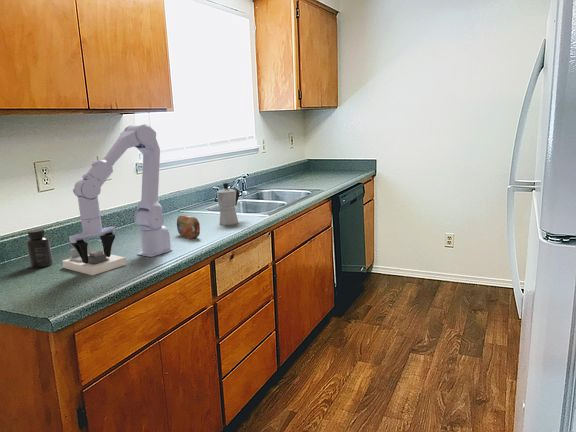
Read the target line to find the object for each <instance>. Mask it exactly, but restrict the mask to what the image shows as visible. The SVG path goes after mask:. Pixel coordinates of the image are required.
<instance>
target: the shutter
mask: <svg viewBox="0 0 576 432" xmlns="http://www.w3.org/2000/svg"><path fill="white" fill-rule="evenodd" d="M90 252H91V249H90V245H89V244H88V246H87V254H88V256H90V255H89V253H90ZM68 259H70V260H74V261H78V262H82V259H81V257H80V255H79V253H78V251H77V250H76V249H75V247H74V248H71V249H70V257H69V258H68Z"/></svg>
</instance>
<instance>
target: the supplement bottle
mask: <svg viewBox="0 0 576 432" xmlns="http://www.w3.org/2000/svg"><path fill="white" fill-rule="evenodd" d="M27 235H28V238H29V239H27V241H26V243H25V244H26V250H27V256H28V260H29V265H30V267H31V268H32V269H41V268H47V267H49V266H51V265H53V263H54V261H53V260H54V259H53V254H52V249H51V242H50V239H49V238H48V237H47V236H45V235H46V233H45V229H44V228H43V229H42V228H41V229H40V228H39V229H33V230H29V231H28V232H27Z"/></svg>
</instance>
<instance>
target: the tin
mask: <svg viewBox="0 0 576 432" xmlns="http://www.w3.org/2000/svg"><path fill="white" fill-rule="evenodd" d="M200 225H201V224H200V221H199V220H198V218H197V217H195V216H191V215H190V216H189V215H179V216H177V219H176V229H177V233H178V234H179V235H180V237H183V238H188V239H190V240H191V239H196V238H198V237H199V236H200V235H201V234H200V233H201V228H200Z"/></svg>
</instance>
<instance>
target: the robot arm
mask: <svg viewBox="0 0 576 432" xmlns="http://www.w3.org/2000/svg"><path fill="white" fill-rule="evenodd" d="M131 148H136V149H137V150H138V151H139V152H140V153H141V154H142V173H141V174H142V175H141V176H142V177H141V178H142V179H141V198H140V201H139V203H138V204H137V207H136V212H135V213H134V219H133V220H134V222H135V224H136V225H137V226H138V229H139V235H140V237H139V238H140V244H141V251H139V252H137V253H136V254H137V256H138V255H139V256H144V257H149V258H153V257H156V256H159V255H163V254H165V253H168V252H171V251H173V248H172V246H171V237H170V232H169V229H168V228H167V226H165V225H164V223H165V216H164V214H163V206H162V205H161V204H160V202H159V185H160V183H159V182H160V181H159V180H160V164H161V163H160V161H161V160H160V159H161V158H160V157H161V148H160V146H159V143H158V140H157V132H156V131H155V130H154V129H153V128H152V127H151V126H150V125H148V124H141V125H128V126H126V127H125V128H124V130H122V131H121V133H120V134H119V136H118V137H117V139H116V140H115V142H114V143H113V145H112V146H111V148H110V149H109V150H108V151H107V153H106V154H105V156H104V158H103V159H97V160H96V161H92V163H91V164H90V165H91V167H90V169H89V170H88V171H87V172H86V173H85V174H83V175H82V176H81V177H82V179H80V180H77V181H76V182H75V184H74V186H73V189H72V192H73V194H74V195H75V197H77V202H78V209H79V217H80V221H81V228H82V232H79V233H77V234H74V235H73V234H72V235H70V236H69V237H68V239H69V243H71V245H72V246H73V247H74V248H75V249H76V250H77V251H78V253H79V255H80V257H81V259H82V262H83V263H85V264H87V263H88V254H87V246H88V245H89V244H88V242H86V240H90V239H93V238H97V237H99V238H100V240H101V243H102V248H103V253H104V254H106V257H110V254H111V252H112V247H113V243H114V242H115V241H114V240H115V238H116V234H115V233H116V226H108V227H103V225H102V218H101V211H100V209H101V208H100V203H99V197H98V196H99V195H100V194H101V191H102V188H101V187H102V186H103V185H104V184H105V182H106V181H107V180H108V179H109V177H110V176H111V175H112V174H113V172H114V170H113V166H114V165H115V163H116V162H117V161H118V160H119V159H120V158H121V157H122V156H123V155H124V154H125V152H127V150H128V149H131ZM111 255H112V254H111Z"/></svg>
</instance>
